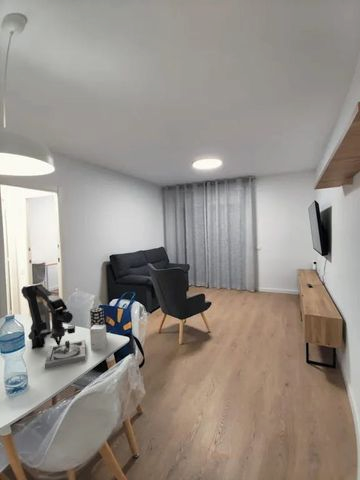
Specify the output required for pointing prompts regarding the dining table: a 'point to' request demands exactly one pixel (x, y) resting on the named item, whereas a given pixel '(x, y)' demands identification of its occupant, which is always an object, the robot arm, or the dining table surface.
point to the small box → (98, 337)
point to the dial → (66, 351)
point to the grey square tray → (53, 362)
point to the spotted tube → (97, 316)
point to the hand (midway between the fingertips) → (58, 345)
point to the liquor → (44, 312)
